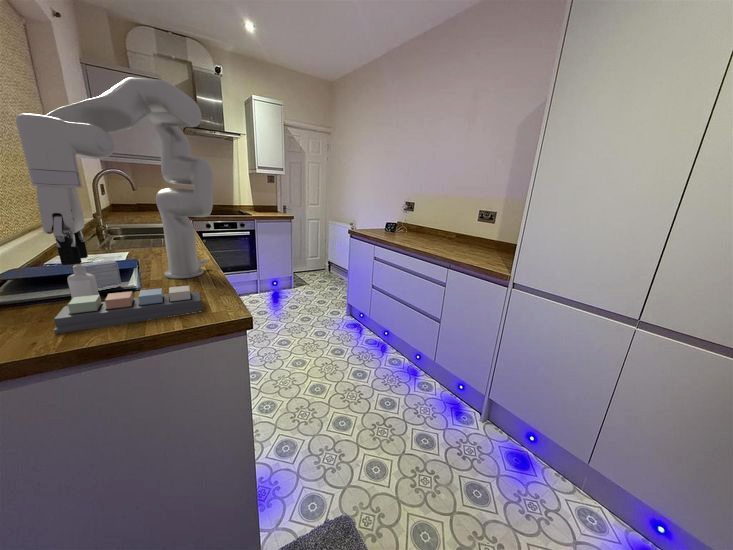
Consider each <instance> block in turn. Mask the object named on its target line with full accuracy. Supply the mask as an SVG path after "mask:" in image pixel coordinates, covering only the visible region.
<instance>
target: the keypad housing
mask: <svg viewBox="0 0 733 550" xmlns="http://www.w3.org/2000/svg"><path fill="white" fill-rule="evenodd" d="M190 297H191V299H186V300H178V301H170V297H169V294H163V302H161V303H153V304H145V305H140V303H139V297H133V299H134V300H133V303H132V306H129V307H121V308H113V309H107V308H106V303H105V301H101V305H100V307H99V309H98V310H97V311H89V312H80V313H72V314H70V311H69V307H68V305H66V306H65V305H64V306H63V308H62V309H61V310H60V311H59V312H58V313H57V315H56V316H55V317H54V319H53V321H54V325H55V328H54V329H53V331H54V334H55V335H56V334H62V333H63V334H64V333H70V332H77V330H78V331H82V330H83V331H84V330H89V329H96V328H105V327H109V326H119V325H124V324H132V323H137V321H139V322H144V321H143V320H146V321H150V320H149V319H152V320H158V319H157V318H159V319H163V318H162V317H166V318H169V317H168V316H173V317H175V316H174V315H180V316H182V315H181V314H186V313H192V312H199V311H202V312H203V307H202V301H201V299H202V298H201V294H200V291H197V290H196V291H190ZM186 315H187V314H186Z"/></svg>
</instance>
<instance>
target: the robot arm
mask: <svg viewBox="0 0 733 550" xmlns="http://www.w3.org/2000/svg"><path fill="white" fill-rule="evenodd" d="M145 117H146V118H147V120H148V121H149V122H150V124H151V125H152V126H153V128H154V129H155V131H156V133H157V135H158V137H159V142H160V168H161V169H160V170H161V177H162V179H163V180H164V181H165V182H167V183H169V184H172V185H182V186H191V187H193V188H183V187H182V188H179V187H165V188H162V189H160V190H158V191H157V193H156V195H155V202H156V203H155V204H156V206H157V209H158V212H159V215H160V218H161V222H162V226H163V227H162V228H163V236H164V242H165V243H164V244H165V249H166V251H165V252H166V256H167V258H166V259H167V265H168V266H167V267H168V269H167V270H165V271H164V277H165V278H168V279H175V280H176V279H190V278H195V277H199V276H201V275H203V274H204V269H203V268H201V267H202V266H203V265H206V264H207V263H208V261H207V260H206V259H201V260H199V259H198V251H197V241H196V234H195V233H196V231H195V227H194V224H193V222H192V221H191V220H190V219H189V217H191V218H193V217H195V218H207V217H209V216H210V215H211V213H212V211H213V207H214V204H213V203H214V175H213V173H214V172H213V169H212V167H211V164H210V163H209V162H208V161H207V160H206V159H204V158H200V157H195V156H194V157H192V156H191V148H190V147H191V146H190V142H189V140H188V138H187V137H186V135H185V134H184V133H183V131H182V130H181V129H180V128H179V127H182V128H183V127H185V128H195V127H198V126H200V124H201V122H202V111H201V109H200V107H199V105H198V104H197V102H196V101H195V99H193V98H192V97H191V96H189V95H188V94H186V93H185V92H184V91H182V90H180V88H178V87H176V86H175V85H173V84H172V83H170V82H168V81H166V80H163V79H158V78H157V79H156V78H148V77H147V78H145V77H134V76H133V77H126V78H125V79H122V80H121V81H120V82H117V84H115V85H113V86H112V87H111V88H110V89H108V90H106V91H105V92H103V93H102V94H100V95H99V96H96V97H92V98H87V99H85V100H82V101H78V102H74V103H71V104H70V103H69V104H67V105H64V106H60V107H58V108H56V109H54V110H52V111H50V112H49V113H47V114H45V115H43V114H37V113H18V114H17V116H16V117H15V123H16V129H17V131H18V136H19V140H20V144H21V146H22V150H23V155H24V158H25V163H26V166H27V171H28V174H29V179H30V182H31V186H34V187H36V198H37V204H38V210H39V215H40V220H41V225H42V230H43V232H44V234H47V235H52V234H53V237H54V238H55V241H56V247H57V251H58V256H59V261H60V264H61V265H63V266H67V265H68V266H69V265H75V264H83V261H82V259H87V258H88V257H89V255H88V250H87V246H86V242H85V239H84V238H85V237H84V234H83V231H82V230H83V229H84V228H85V224H86V223H85V217H84V213H83V209H82V204H81V200H80V195H79V193H78V190H77V189H78V188H79V189H80V188H83V184H82V180H81V175H80V174H81V173H80V171H79V166H78V165H79V164H78V161H77V158H81V159H91V160H92V159H94V160H101V159H107V158H108V157H110V156H112V155H113V154H114V152H115V149H116V147H115V145H116V144H115V141H114V139H113V137H112V136H111V134H112V133H119V132H123V131H127V130H130V129H133V128H134V127H135V126H136V125H137V124H139V123H140V122H141V121H142V119H144V118H145ZM110 133H111V134H110Z"/></svg>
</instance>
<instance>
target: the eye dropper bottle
mask: <svg viewBox="0 0 733 550" xmlns="http://www.w3.org/2000/svg"><path fill="white" fill-rule="evenodd" d="M82 264H83V263H81V264H73V266H72V271H73V273H72V274H70V275H68V276H67V279H66V280H67V284H68V289H69V293H70V295H71V300H72V299H73V297H81V296H91V295H100V293H99V292H98V287H97V283H96V279H95V276H94V275H92V274H89V273H86V268H85V265H82Z"/></svg>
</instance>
